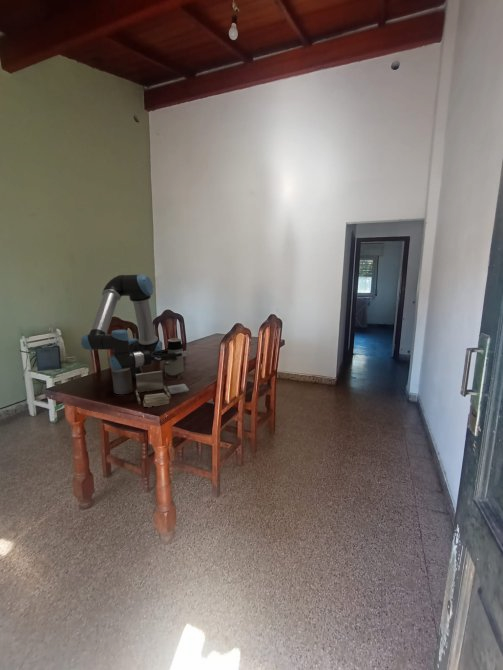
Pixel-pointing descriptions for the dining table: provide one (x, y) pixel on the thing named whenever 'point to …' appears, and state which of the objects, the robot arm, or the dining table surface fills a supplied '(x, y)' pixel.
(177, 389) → the mat
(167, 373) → the food container
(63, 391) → the dining table surface
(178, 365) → the travel mug
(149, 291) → the robot arm
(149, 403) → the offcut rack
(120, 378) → the pillar candle
